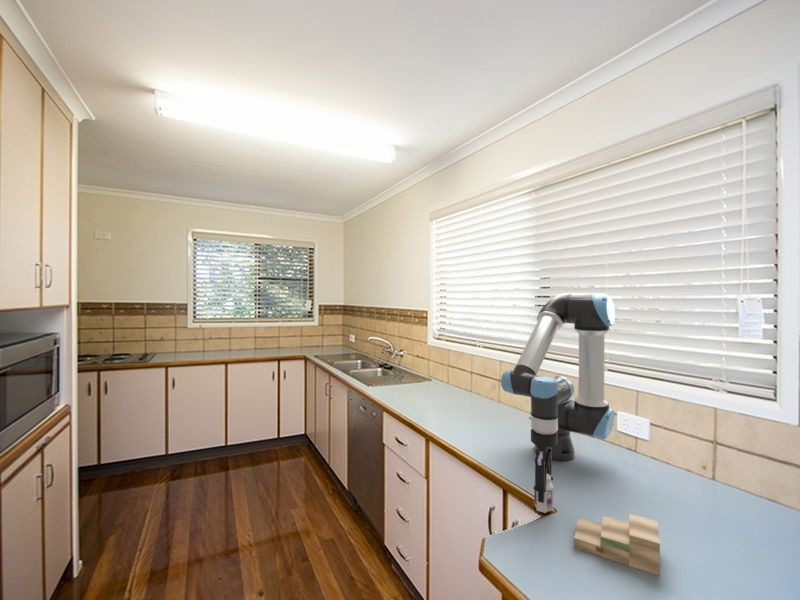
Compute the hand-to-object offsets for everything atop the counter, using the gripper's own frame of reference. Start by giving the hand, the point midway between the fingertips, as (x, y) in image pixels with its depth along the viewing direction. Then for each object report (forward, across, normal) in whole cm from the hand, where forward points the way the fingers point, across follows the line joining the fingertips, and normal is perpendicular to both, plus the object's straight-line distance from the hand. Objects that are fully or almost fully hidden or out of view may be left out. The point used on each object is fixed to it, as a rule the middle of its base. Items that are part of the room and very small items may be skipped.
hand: (543, 505), depth 112 cm
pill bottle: (+1, 0, 0) cm, 1 cm away
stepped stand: (+1, +8, +19) cm, 21 cm away
